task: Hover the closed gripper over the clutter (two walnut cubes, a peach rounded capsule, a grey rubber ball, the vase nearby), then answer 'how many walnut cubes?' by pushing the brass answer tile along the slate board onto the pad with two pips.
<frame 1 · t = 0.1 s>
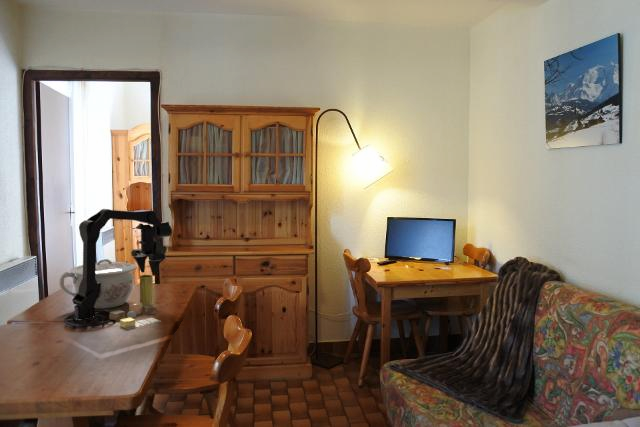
hand: (148, 273, 218), 15 cm above the table, tool pointing down, fingers open, 9 cm apart
grey ball: (131, 319, 200), on the table
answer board: (140, 326, 192), on the table
chamber pot: (104, 305, 221), on the table
peach rounded capsule: (135, 315, 205), on the table
walnut cube b: (149, 315, 206), on the table
vase: (146, 308, 217), on the table
answer tile: (127, 326, 188), point 1 cm above the table, touching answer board
walnut cube a: (117, 321, 197), on the table
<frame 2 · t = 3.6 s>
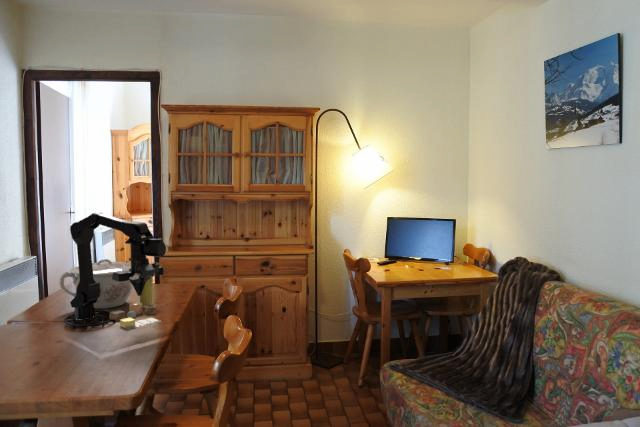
hand: (139, 295, 191), 12 cm above the table, tool pointing down, fingers closed
nothing on the table moved.
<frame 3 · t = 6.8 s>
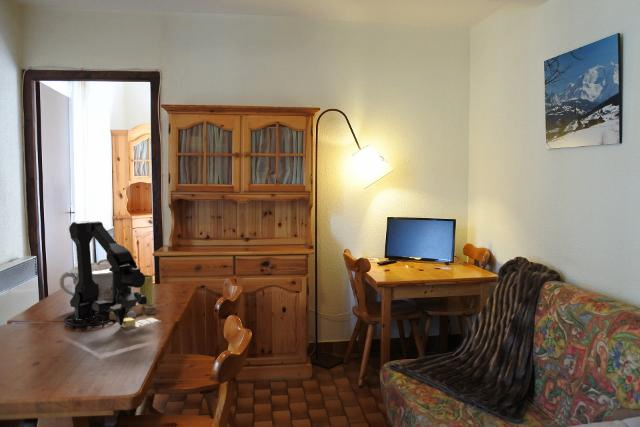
hand: (120, 325, 186), 2 cm above the table, tool pointing down, fingers closed
answer tile: (127, 325, 188), point 1 cm above the table, touching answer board, gripper
everything else where it was.
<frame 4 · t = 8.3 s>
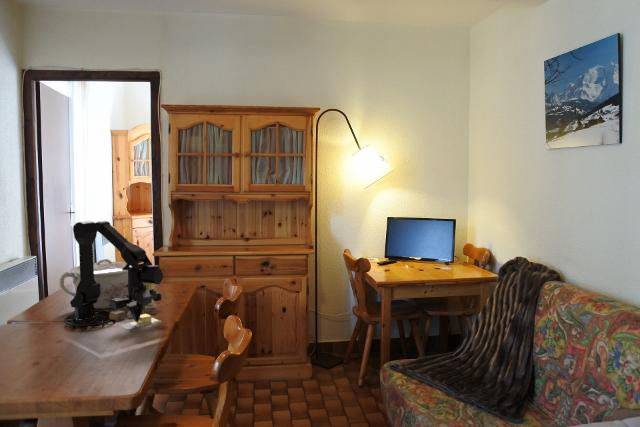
hand: (136, 321, 191), 2 cm above the table, tool pointing down, fingers closed
answer tile: (144, 322, 193), point 1 cm above the table, touching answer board, gripper
everything else where it was.
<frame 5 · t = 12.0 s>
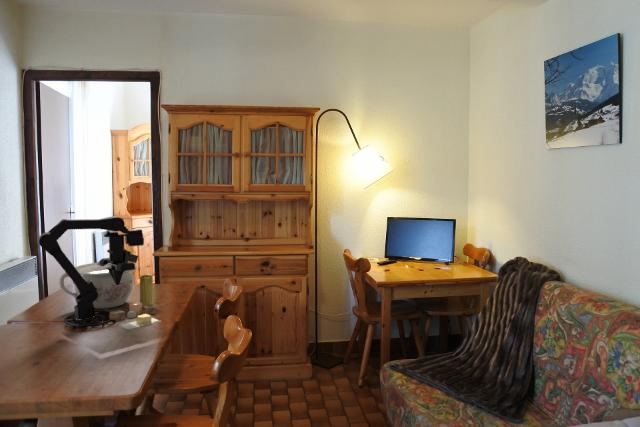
hand: (117, 284, 204), 13 cm above the table, tool pointing down, fingers closed
answer tile: (144, 322, 193), point 1 cm above the table, touching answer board
everything else where it was.
at the end: answer tile 0.3 cm from the target spot on the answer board, point 1.2 cm above the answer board's base; answer tile tilted 0° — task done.
